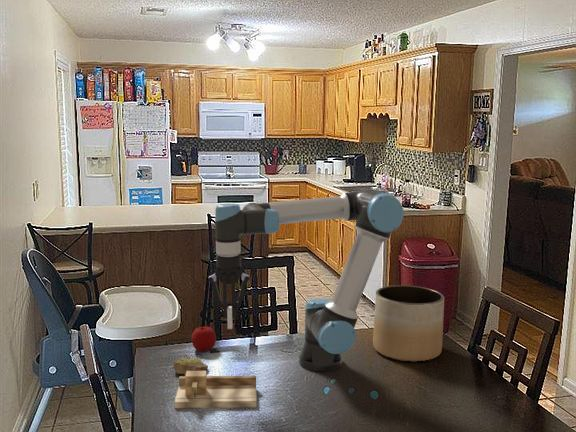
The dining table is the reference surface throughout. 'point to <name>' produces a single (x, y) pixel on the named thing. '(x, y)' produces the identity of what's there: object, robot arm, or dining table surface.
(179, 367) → the rock
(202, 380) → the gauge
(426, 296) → the planter
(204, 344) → the apple
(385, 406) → the dining table surface
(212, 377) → the board
